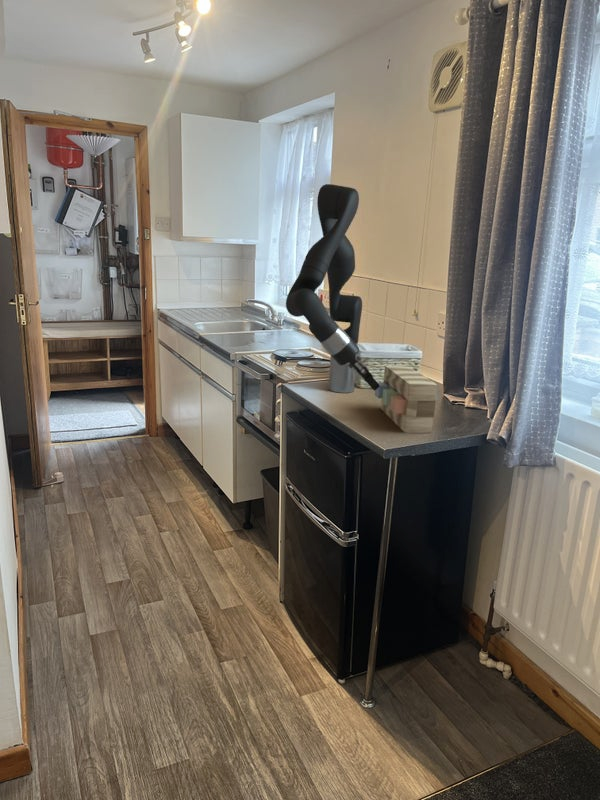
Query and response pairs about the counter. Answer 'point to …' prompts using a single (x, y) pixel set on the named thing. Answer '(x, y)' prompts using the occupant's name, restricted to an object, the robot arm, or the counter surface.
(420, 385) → the block
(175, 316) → the counter surface
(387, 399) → the green button
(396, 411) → the terracotta button
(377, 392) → the blue button
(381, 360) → the storage basket
